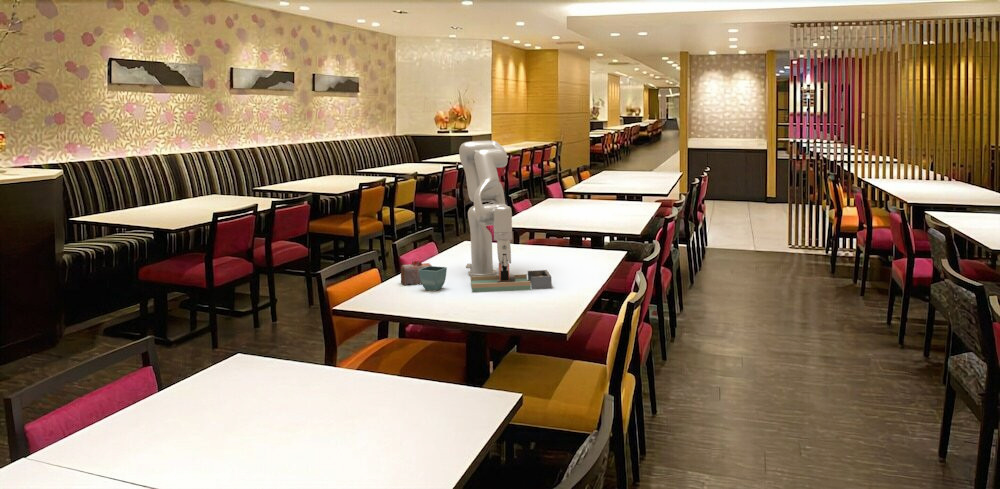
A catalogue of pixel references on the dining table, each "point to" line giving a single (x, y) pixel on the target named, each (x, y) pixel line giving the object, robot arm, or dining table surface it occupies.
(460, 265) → the dining table surface
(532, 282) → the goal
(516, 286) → the pitch
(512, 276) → the silver-capped pink block
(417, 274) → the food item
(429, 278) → the flower pot
